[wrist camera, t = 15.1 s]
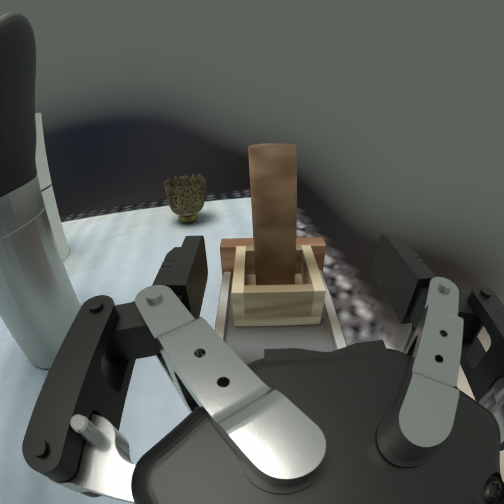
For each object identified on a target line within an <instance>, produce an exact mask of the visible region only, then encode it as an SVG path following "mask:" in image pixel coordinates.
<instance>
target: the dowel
mask: <svg viewBox="0 0 504 504" xmlns="http://www.w3.org/2000/svg"><path fill="white" fill-rule="evenodd" d="M248 150H249V168H250V184H251V185H250V186H251V203H252V221H253V239H254V257H255V276H256V285H295V264H296V219H297V165H296V164H297V163H296V162H297V159H296V145H293V144H283V143H269V144H256V145H251V146H249V147H248Z"/></svg>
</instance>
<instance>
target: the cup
mask: <svg viewBox="0 0 504 504" xmlns="http://www.w3.org/2000/svg"><path fill="white" fill-rule="evenodd" d="M164 186H165V190H166V195H167V198H168V202H169V205H170V208H171V209H172V211H173V212H174V213H175V214H177V215H179V220H180V221H181V222H182V223H193V222H195V221H196V220H197V219H198V216H199V215H198V212H199V211H200V210H201V209H202V207H203V205H204V200H205V180H204V177H203V176H202V177H201V175H200V174H199V175H198V176H196V177H195V176H194V175H192V177H191V179H190V178H189V177H188V175H185V177H183V176H180V178H179V180H177V178H176V177H174V181H173V180H171V179H169V178H168V179H167V181H164Z"/></svg>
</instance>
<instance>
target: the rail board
mask: <svg viewBox="0 0 504 504" xmlns="http://www.w3.org/2000/svg"><path fill="white" fill-rule="evenodd" d="M296 245H310V246H311V249H312V252H313V254H314V257H315V260H316V263H317V266H318V269H319V272H320V274H321V277H322V280H323V283H324V286H325V289H326V293H325V299H324V305H323V310H322V315H321V321H320V324H309V325H285V326H234V318H233V306H232V294H231V292H232V282H233V273H234V264H235V255H236V246H254V239H253V238H236V239H222V240H221V244H220V254H221V265H222V276H223V279H222V285H221V291H220V298H219V304H218V311H217V318H216V324H215V332H216V333H217V334H218V335H219V336H220V337H221V338H222V339H223V340H224V342H225V343H226V344H227V345H228V346H229V347H230V348H231V349H232V350H233V351H234V352H235V353H236V355H237V356H238V357H239V358H240V359H241V360H242V361H243V362H244V363H245V364H248V363H250V362H252V361H255V360H258V359H262V358H264V349H282V348H300V349H307V350H314V351H322V352H331V351H335V350H338V349H341V348H344V347H346V344H345V341H344V337H343V334H342V331H341V328H340V325H339V321H338V318H337V315H336V312H335V309H334V306H333V303H332V300H331V297H330V294H329V291H328V288H327V285H326V282H325V279H324V277H323V274H322V273H323V265H324V258H325V250H326V245H325V243H324V240H323V238H322V237H315V238H296Z"/></svg>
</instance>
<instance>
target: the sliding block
mask: <svg viewBox="0 0 504 504" xmlns="http://www.w3.org/2000/svg"><path fill="white" fill-rule="evenodd" d="M325 293H326V289H325V286H324V283H323V280H322V277H321V274H320V272H319V269H318V266H317V263H316V260H315V257H314V254H313V252H312V249H311V246H310V245H296V264H295V285H256V276H255V257H254V246H236V255H235V264H234V273H233V282H232V292H231V294H232V306H233V318H234V326H285V325H309V324H320V321H321V315H322V310H323V305H324V299H325Z"/></svg>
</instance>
